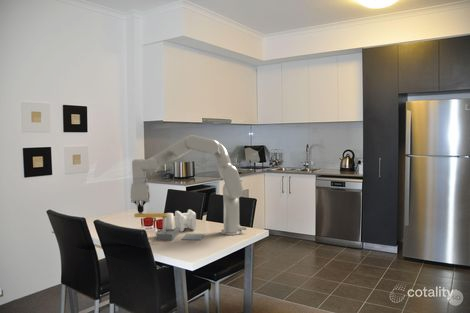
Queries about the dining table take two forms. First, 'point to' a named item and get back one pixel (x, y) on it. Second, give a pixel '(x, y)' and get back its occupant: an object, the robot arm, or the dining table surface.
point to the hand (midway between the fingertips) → (140, 212)
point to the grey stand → (166, 233)
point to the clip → (150, 215)
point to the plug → (170, 222)
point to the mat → (193, 237)
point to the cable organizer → (185, 220)
